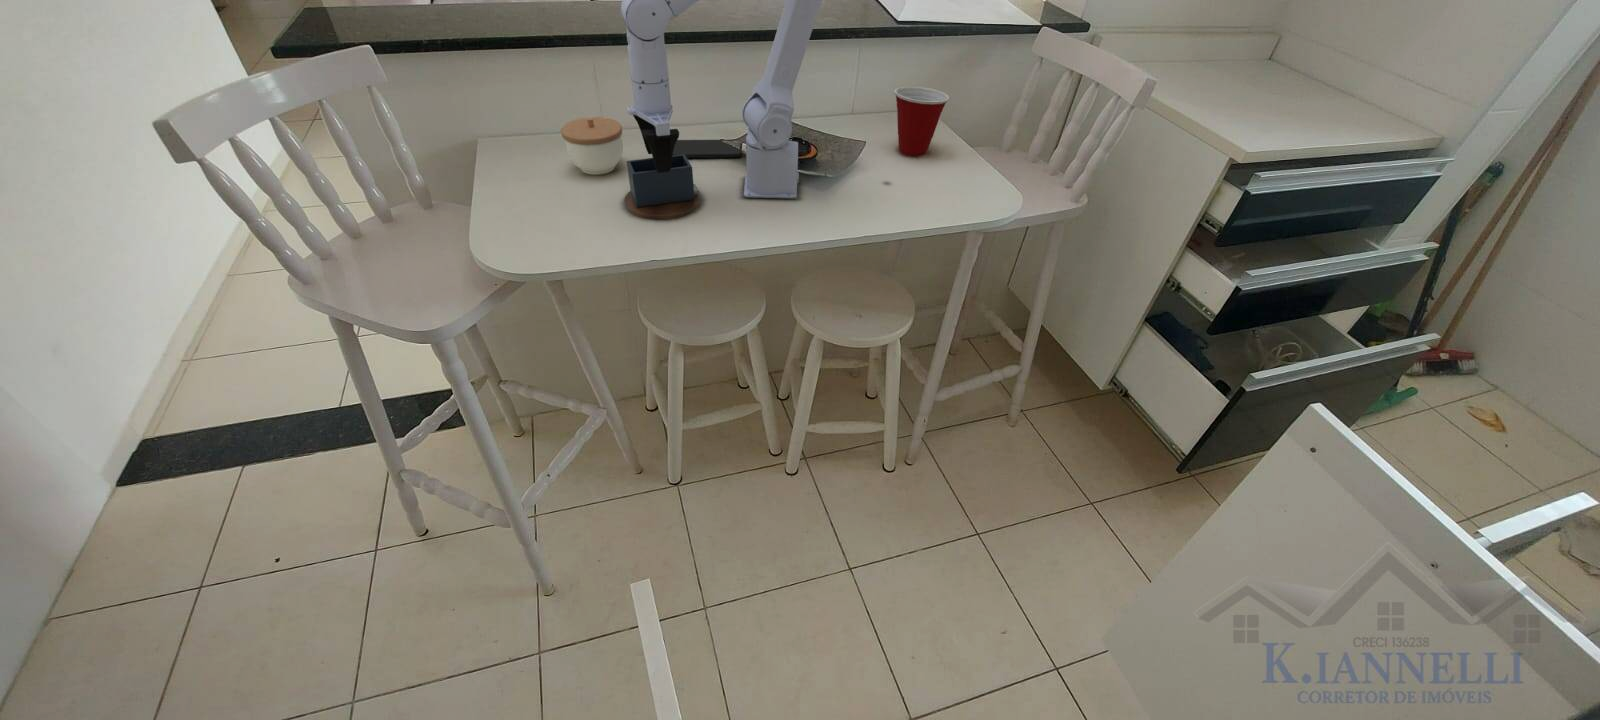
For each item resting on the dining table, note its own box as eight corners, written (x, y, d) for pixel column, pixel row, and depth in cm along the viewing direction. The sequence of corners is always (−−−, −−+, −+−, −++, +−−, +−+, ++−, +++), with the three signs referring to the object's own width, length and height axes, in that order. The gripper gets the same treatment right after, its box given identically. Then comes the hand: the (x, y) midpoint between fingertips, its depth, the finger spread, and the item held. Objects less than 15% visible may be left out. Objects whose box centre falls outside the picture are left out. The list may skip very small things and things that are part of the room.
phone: (741, 154, 131) (664, 154, 129) (741, 158, 131) (664, 158, 129) (739, 139, 136) (665, 139, 134) (739, 143, 137) (665, 143, 135)
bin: (693, 185, 119) (691, 153, 115) (701, 198, 116) (699, 165, 112) (631, 193, 116) (626, 160, 112) (636, 207, 112) (632, 174, 108)
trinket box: (613, 183, 121) (605, 133, 115) (558, 176, 122) (547, 126, 116) (636, 159, 129) (629, 111, 123) (584, 153, 130) (575, 105, 124)
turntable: (703, 186, 121) (703, 182, 121) (696, 220, 112) (696, 216, 111) (632, 184, 121) (631, 180, 120) (618, 218, 111) (618, 214, 111)
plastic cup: (947, 149, 139) (958, 90, 131) (926, 166, 131) (936, 105, 124) (901, 136, 143) (908, 79, 135) (877, 153, 136) (884, 93, 128)
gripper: (616, 66, 107) (627, 147, 115) (632, 96, 96) (643, 183, 105) (659, 62, 109) (667, 143, 117) (680, 91, 99) (686, 177, 107)
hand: (658, 162), depth 111 cm, fingers open, 7 cm apart
